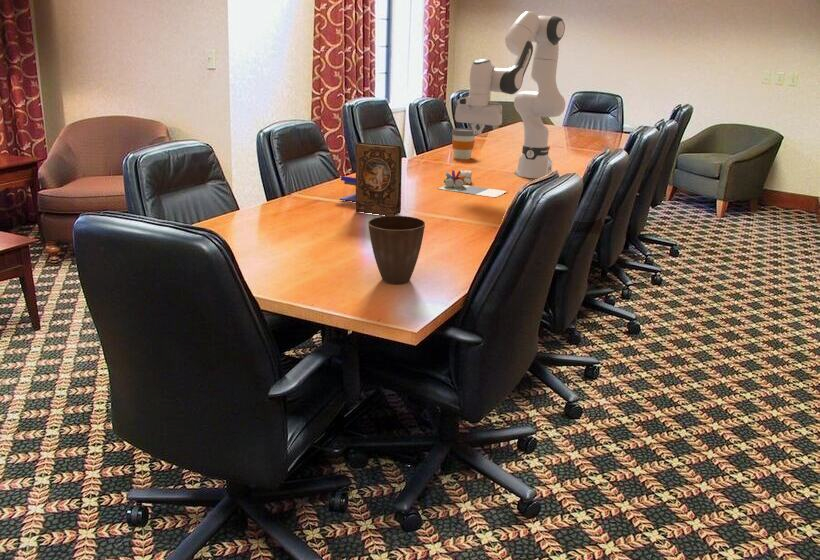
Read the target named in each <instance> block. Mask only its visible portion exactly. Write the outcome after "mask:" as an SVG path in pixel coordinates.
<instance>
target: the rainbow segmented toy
mask: <svg viewBox="0 0 820 560" xmlns="http://www.w3.org/2000/svg"><path fill="white" fill-rule="evenodd" d="M460 173H461V170H458V171H457V174H456V173H455V170H454V169H452V170H451V174H450V173H449V172H446V173H445V176H446V178H445V179H443V183H444V186H446V187H448V188H451V187H453V186H454V185H455V187H456V188H462V187H463V185H467V184H466V182H465V181H464V178H465V177H466V176H465V175H463V176H461V177H459V175H460Z"/></svg>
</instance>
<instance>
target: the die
mask: <svg viewBox="0 0 820 560" xmlns="http://www.w3.org/2000/svg"><path fill="white" fill-rule="evenodd" d="M460 171H461V173H460V175H459V176H458V177H461V176H463V175H465V176H466V177H465V178H464V181H465V182H466V183H468V184H467V185H470V184H471V183H472V174H473V173H472V172H473V171H472V170H460Z"/></svg>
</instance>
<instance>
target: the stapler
mask: <svg viewBox="0 0 820 560" xmlns="http://www.w3.org/2000/svg"><path fill="white" fill-rule="evenodd" d="M340 181H343V182H344V185H349V186H355V187H356V177H351V176H343V175H341V176H340ZM340 200H345V201H352V202H356V192H355V193H352V194H350V195H347V196H343V197H340V198H339V201H340Z"/></svg>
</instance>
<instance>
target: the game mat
mask: <svg viewBox="0 0 820 560" xmlns="http://www.w3.org/2000/svg"><path fill="white" fill-rule="evenodd" d="M441 189H442V191H447V190H448V191H447V192H454V191H455V193H460V192H462V193H461V194H467V193H469V195H473V194H475V195H474V196H480V195H481V197H487V196H488V198H493V197H494V198H495V197H496V198H498V197H500V196H503V195H505V194H506V193H505V192H506V191H507V190H501V189H493V188H490V187H489V188H488V187H487V188H486V187H480V186H474V185H469V184H466V185H463V187H462V188H456V187H455V185H454V186H453V187H451V188H448V187H446V185H444V186H441V187H438V188H437V190H441ZM504 193H505V194H504ZM502 194H503V195H502Z"/></svg>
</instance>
